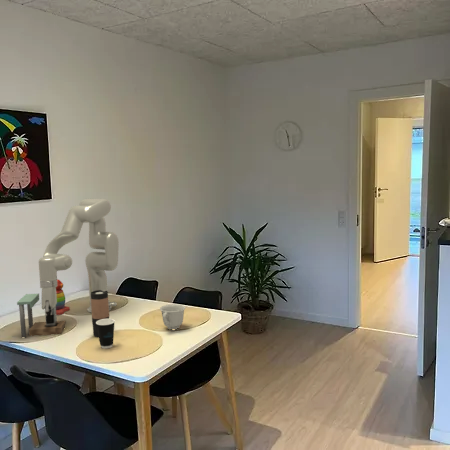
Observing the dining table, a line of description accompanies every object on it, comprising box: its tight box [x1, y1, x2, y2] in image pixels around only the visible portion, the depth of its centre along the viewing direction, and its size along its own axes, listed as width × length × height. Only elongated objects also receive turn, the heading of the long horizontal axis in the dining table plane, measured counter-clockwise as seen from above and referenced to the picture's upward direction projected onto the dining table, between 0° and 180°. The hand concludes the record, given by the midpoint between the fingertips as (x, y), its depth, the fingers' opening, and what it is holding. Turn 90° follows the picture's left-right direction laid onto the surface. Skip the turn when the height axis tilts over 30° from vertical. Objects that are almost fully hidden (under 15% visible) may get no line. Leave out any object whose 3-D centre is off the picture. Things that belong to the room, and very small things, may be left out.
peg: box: [44, 305, 58, 327], centre depth 219 cm, size 4×4×12 cm
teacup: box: [159, 303, 186, 330], centre depth 218 cm, size 12×15×10 cm
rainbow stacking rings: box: [56, 278, 71, 316], centre depth 249 cm, size 11×10×18 cm
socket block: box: [28, 320, 67, 337], centre depth 220 cm, size 14×10×3 cm
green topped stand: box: [16, 293, 40, 338], centre depth 218 cm, size 6×14×17 cm, turn 8°
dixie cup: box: [96, 318, 116, 349], centre depth 199 cm, size 8×8×11 cm
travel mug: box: [91, 290, 110, 338], centre depth 212 cm, size 8×8×20 cm
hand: (51, 321), depth 220 cm, fingers closed on peg, 4 cm apart
